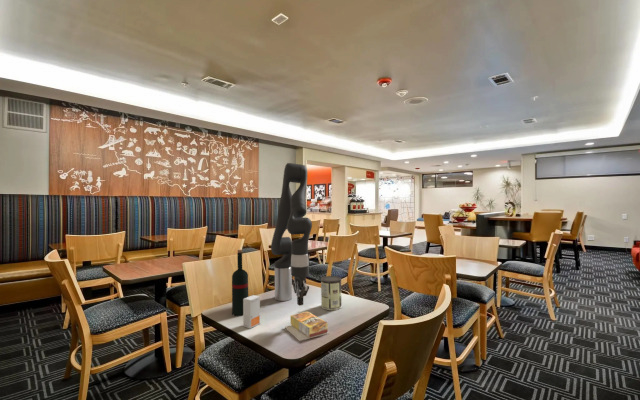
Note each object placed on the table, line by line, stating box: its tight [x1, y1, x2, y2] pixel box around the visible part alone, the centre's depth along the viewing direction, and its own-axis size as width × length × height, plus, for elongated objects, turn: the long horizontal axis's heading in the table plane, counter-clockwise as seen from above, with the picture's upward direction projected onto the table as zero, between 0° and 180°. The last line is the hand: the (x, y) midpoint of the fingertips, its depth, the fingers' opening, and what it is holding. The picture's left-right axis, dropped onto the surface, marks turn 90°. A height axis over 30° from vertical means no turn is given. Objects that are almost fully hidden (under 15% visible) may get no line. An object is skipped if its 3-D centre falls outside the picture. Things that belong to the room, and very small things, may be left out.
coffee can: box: [320, 275, 343, 311], centre depth 152 cm, size 10×10×14 cm
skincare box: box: [242, 295, 261, 329], centre depth 130 cm, size 6×4×12 cm
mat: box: [284, 324, 330, 342], centre depth 124 cm, size 14×13×1 cm
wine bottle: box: [231, 249, 249, 317], centre depth 146 cm, size 8×10×30 cm
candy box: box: [290, 311, 329, 339], centre depth 125 cm, size 9×4×15 cm
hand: (300, 304), depth 129 cm, fingers closed
